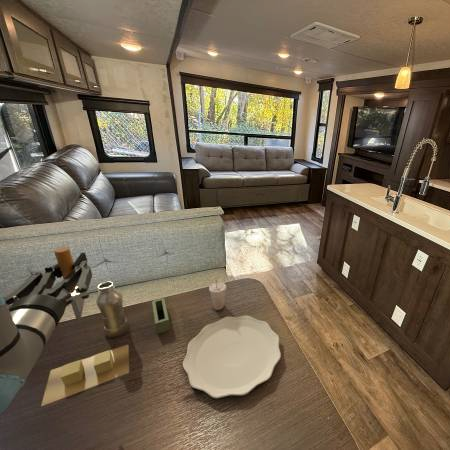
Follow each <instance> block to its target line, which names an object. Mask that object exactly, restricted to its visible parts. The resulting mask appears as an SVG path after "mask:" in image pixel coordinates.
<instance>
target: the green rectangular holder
mask: <svg viewBox="0 0 450 450" xmlns="http://www.w3.org/2000/svg"><path fill="white" fill-rule="evenodd" d="M151 304H152V311H153V319H154V325H155V330H156V334H157V335H159V334H163V333H165V332H168V331H170V330H171V324H170V319H169V315H168V310H167V309H168V308H167V305H166V300H165V297H162V298H158V299H154V300H151ZM160 311H162V312H163V317H164V318H163V319H159V315H158V312H160Z"/></svg>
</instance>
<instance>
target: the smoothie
mask: <svg viewBox="0 0 450 450" xmlns="http://www.w3.org/2000/svg"><path fill="white" fill-rule="evenodd" d="M226 291H227V285H226V283H224V282H221V281H218V278H217V277H215V282H214V283H211V284H210V285H209V287H208V292H209V293H210V296H211V300H212V301H211V302H212V305H213V309H214V310H216V311H219V310H222V309H224V306H225V297H226Z"/></svg>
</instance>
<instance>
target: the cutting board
mask: <svg viewBox="0 0 450 450" xmlns="http://www.w3.org/2000/svg"><path fill="white" fill-rule="evenodd" d="M129 347H130V346H129V344H125V345H122V346H119V347H116V348H113V349H110V350H111V353H112V357H113V368H112V369H111V370H108V371H105V372H102V373H100V374H96V372H95V369H94V358H95V355H91V356H89V357H86V358H83V359H80V360H81V361H82V364H83V367H84V372H83V379H82V380H81V381H78V382H75V383H73V384H70V385H67V386H64V383H63V381H62V379H61V375H62V371H63V366H64V365H62V366H59V367H57V368H54V369H51V370H50V372H49V376H48V379H47V383H46V385H45V389H44V394H43V397H42V401H41V405H40V407H41V408H42V407H45V406H47V405H50V404H52V403H55V402H57V401H60V400H62V399H65V398H68V397H71V396H73V395H76V394H78V393H81V392H83V391H86V390H88V389H91V388H93V387H96V386H98V385H101V384H103V383H106V382H108V381H112V380H114V379H116V378H120V377H122V376H124V375H128V374H130V353H129V351H130V350H129Z"/></svg>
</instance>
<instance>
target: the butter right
mask: <svg viewBox="0 0 450 450" xmlns="http://www.w3.org/2000/svg"><path fill="white" fill-rule="evenodd" d="M111 350H112V349H109V350H105V351H102V352H99V353H96V354H94V356H95V358H94V369H95V372H96V374H100V373H102V372H105V371H108V370H111V369H112V368H113V357H112V353H111Z"/></svg>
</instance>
